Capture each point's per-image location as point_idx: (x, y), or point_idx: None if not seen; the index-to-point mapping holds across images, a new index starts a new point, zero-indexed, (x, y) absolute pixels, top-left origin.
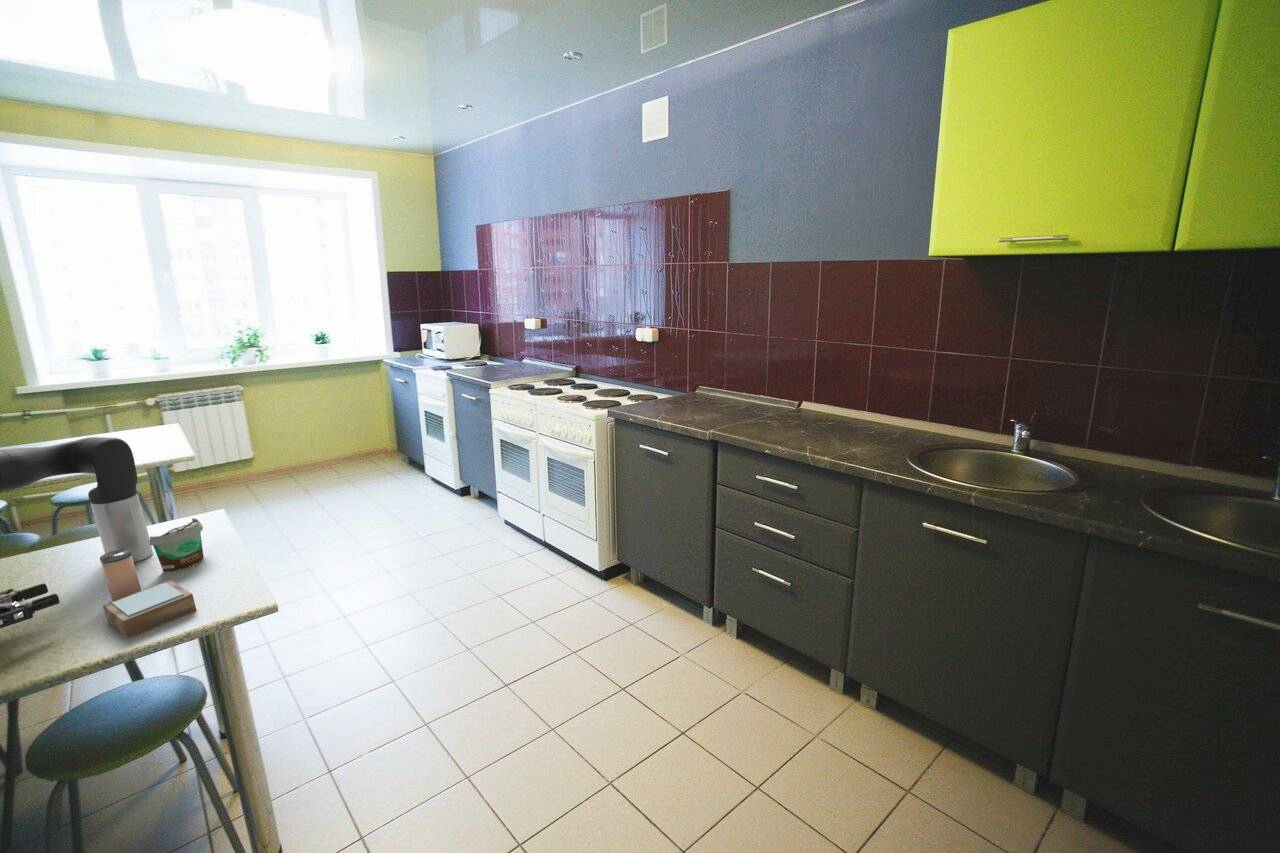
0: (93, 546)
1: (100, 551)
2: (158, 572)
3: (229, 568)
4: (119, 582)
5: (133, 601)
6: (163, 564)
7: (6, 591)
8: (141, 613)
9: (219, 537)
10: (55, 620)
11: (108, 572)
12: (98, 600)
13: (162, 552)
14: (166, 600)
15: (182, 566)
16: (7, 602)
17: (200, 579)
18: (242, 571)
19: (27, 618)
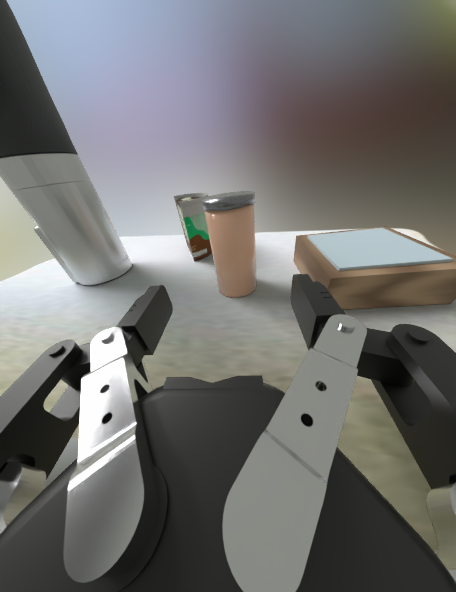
0: (6, 288)
1: (33, 286)
2: (191, 263)
3: (262, 236)
4: (253, 253)
5: (364, 253)
6: (196, 250)
7: (52, 361)
8: (442, 252)
9: (169, 237)
10: (213, 364)
11: (243, 232)
12: (200, 307)
13: (196, 229)
14: (399, 235)
15: (211, 249)
16: (209, 388)
17: (265, 247)
18: (283, 233)
19: (414, 382)
